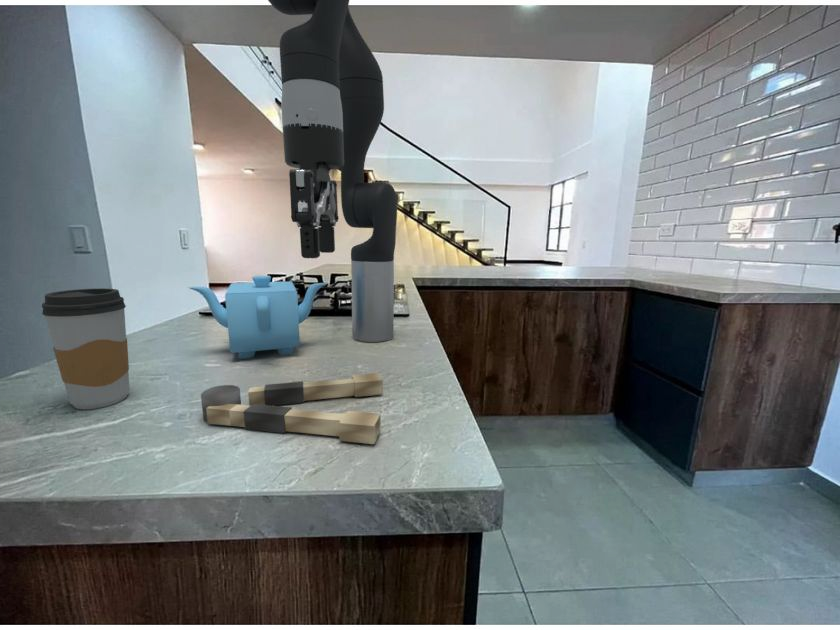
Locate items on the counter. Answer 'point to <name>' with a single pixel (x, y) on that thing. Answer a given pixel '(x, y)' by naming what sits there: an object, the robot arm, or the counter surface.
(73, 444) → the counter surface
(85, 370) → the coffee cup
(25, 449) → the counter surface
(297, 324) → the teakettle
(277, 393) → the tong arm
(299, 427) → the tongs frame
